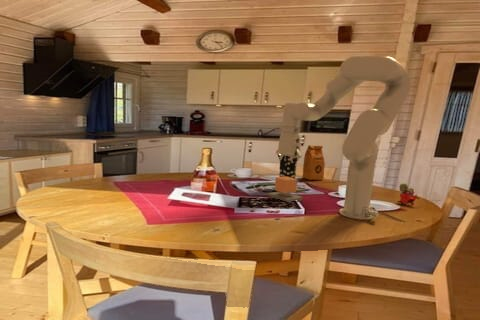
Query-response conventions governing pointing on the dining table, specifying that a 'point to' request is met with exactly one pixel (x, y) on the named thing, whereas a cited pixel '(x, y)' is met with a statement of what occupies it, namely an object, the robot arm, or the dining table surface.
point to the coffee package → (313, 163)
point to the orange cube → (285, 184)
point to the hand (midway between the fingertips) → (287, 169)
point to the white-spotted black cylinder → (286, 171)
